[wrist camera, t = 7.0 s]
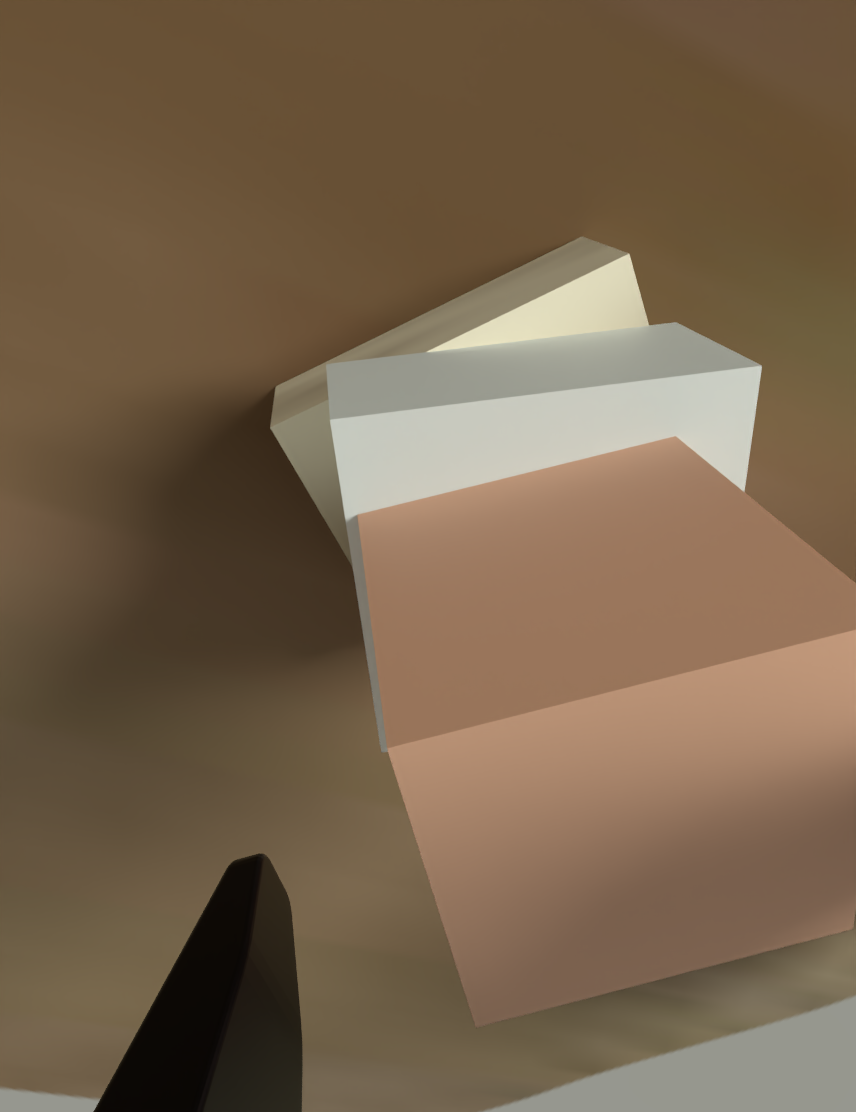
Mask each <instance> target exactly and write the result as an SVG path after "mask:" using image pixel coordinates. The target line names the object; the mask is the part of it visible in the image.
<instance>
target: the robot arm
mask: <svg viewBox="0 0 856 1112" xmlns="http://www.w3.org/2000/svg"><path fill="white" fill-rule="evenodd" d="M94 1112H302V1031H301V1017H300V1005H299V994H298V982H297V970H296V958H295V947H294V935H293V923H292V912H291V906H290V901H289V898H288V895H287V892H286V890H285V888H284V886H283V884H282V882H281V881H280V879H279V877H278V875H277V873H276V871H275V869H274V867H273V865H272V863H271V861H270V860H269V858H268V857H267V856H266V855H265V854H256V855H252V856H248V857H245V858H241V859H237V860H235V861H233V862H232V863H231V864H230V865H229V866H228V868H227V869H226V871H225V873H224V875H223V876H222V878H221V880H220V882H219V884H218V886H217V887H216V889H215V891H214V893H213V895H212V897H211V898H210V900H209V902H208V904H207V906H206V907H205V909H204V911H203V913H202V915H201V917H200V918H199V920H198V922H197V924H196V926H195V928H194V929H193V931H192V933H191V935H190V937H189V939H188V940H187V942H186V944H185V946H184V948H183V949H182V951H181V953H180V955H179V957H178V959H177V960H176V962H175V964H174V966H173V968H172V970H171V971H170V973H169V975H168V977H167V979H166V981H165V982H164V984H163V986H162V988H161V990H160V991H159V993H158V995H157V997H156V999H155V1001H154V1002H153V1004H152V1006H151V1008H150V1010H149V1012H148V1013H147V1015H146V1017H145V1019H144V1021H143V1022H142V1024H141V1026H140V1028H139V1030H138V1032H137V1033H136V1035H135V1037H134V1039H133V1041H132V1043H131V1044H130V1046H129V1048H128V1050H127V1052H126V1054H125V1055H124V1057H123V1059H122V1061H121V1063H120V1064H119V1066H118V1068H117V1070H116V1072H115V1074H114V1075H113V1077H112V1079H111V1081H110V1083H109V1085H108V1086H107V1088H106V1090H105V1092H104V1094H103V1096H102V1097H101V1099H100V1101H99V1103H98V1105H97V1107H96V1108H95V1110H94Z"/></svg>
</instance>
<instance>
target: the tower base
mask: <svg viewBox="0 0 856 1112" xmlns="http://www.w3.org/2000/svg"><path fill="white" fill-rule="evenodd" d="M642 326H649V324H648V320H647V317H646V313H645V309H644V306H643V302H642V299H641V295H640V291H639V288H638V284H637V281H636V277H635V273H634V270H633V266H632V262H631V259H630V255H629V253H626V252H623V251H620V250H618V249H615V248H612V247H609V246H607V245H604V244H601V243H598V242H596V241H593V240H590V239H587V238H585V237H580V238H578V239H576V240H574V241H572V242H570V243H568V244H566V245H564V246H562V247H559V248H557V249H555V250H553V251H551V252H549V253H547V254H545V255H543V256H541V257H539V258H537V259H535V260H533V261H531V262H529V263H527V264H525V265H523V266H521V267H519V268H517V269H515V270H513V271H511V272H508V273H506V274H504V275H502V276H500V277H498V278H496V279H494V280H492V281H490V282H488V283H486V284H484V285H482V286H480V287H478V288H476V289H474V290H472V291H470V292H468V293H466V294H464V295H462V296H459V297H457V298H455V299H453V300H451V301H449V302H447V303H445V304H443V305H441V306H439V307H437V308H435V309H433V310H431V311H429V312H427V313H425V314H423V315H421V316H419V317H417V318H415V319H413V320H411V321H408V322H406V323H404V324H402V325H400V326H398V327H396V328H394V329H392V330H390V331H388V332H386V333H384V334H382V335H380V336H378V337H376V338H374V339H372V340H370V341H368V342H366V343H364V344H362V345H359V346H357V347H355V348H353V349H351V350H349V351H347V352H345V353H343V354H341V355H339V356H337V357H335V358H333V359H331V360H329V361H327V362H325V363H323V364H321V365H319V366H317V367H315V368H313V369H311V370H308V371H306V372H304V373H302V374H300V375H298V376H296V377H294V378H292V379H290V380H288V381H286V382H284V383H282V384H280V385H278V386H276V388H275V395H274V403H273V410H272V417H271V425H270V428H271V430H272V432H273V433H274V435H275V437H276V438H277V440H278V442H279V444H280V445H281V447H282V449H283V450H284V452H285V454H286V455H287V457H288V459H289V460H290V462H291V464H292V466H293V467H294V469H295V471H296V472H297V474H298V476H299V477H300V479H301V481H302V482H303V484H304V486H305V488H306V489H307V491H308V493H309V494H310V496H311V498H312V499H313V501H314V503H315V504H316V506H317V508H318V510H319V511H320V513H321V515H322V516H323V518H324V520H325V521H326V523H327V525H328V526H329V528H330V530H331V532H332V533H333V535H334V537H335V538H336V540H337V542H338V543H339V545H340V547H341V548H342V550H343V552H344V554H345V555H346V557H347V559H348V560H349V562H350V564H351V565H352V559H351V553H350V546H349V540H348V533H347V527H346V521H345V514H344V508H343V501H342V495H341V488H340V482H339V475H338V469H337V462H336V456H335V449H334V443H333V437H332V430H331V424H330V414H329V399H328V385H327V370H326V364H331V363H340V362H348V361H356V360H365V359H373V358H381V357H390V356H398V355H407V354H415V353H423V352H433V351H441V350H449V349H458V348H466V347H474V346H483V345H491V344H499V343H508V342H516V341H525V340H533V339H541V338H550V337H558V336H566V335H575V334H583V333H591V332H600V331H608V330H616V329H625V328H633V327H642ZM352 567H353V566H352Z"/></svg>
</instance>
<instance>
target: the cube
mask: <svg viewBox="0 0 856 1112" xmlns="http://www.w3.org/2000/svg"><path fill="white" fill-rule="evenodd" d="M357 517H358V525H359V533H360V540H361V548H362V556H363V564H364V572H365V580H366V587H367V595H368V603H369V611H370V619H371V627H372V634H373V642H374V650H375V658H376V666H377V674H378V681H379V689H380V697H381V705H382V713H383V721H384V728H385V736H386V744H387V750H388V753H389V756H390V759H391V762H392V765H393V769H394V772H395V775H396V778H397V781H398V784H399V787H400V791H401V794H402V797H403V800H404V803H405V806H406V809H407V813H408V816H409V819H410V822H411V825H412V828H413V831H414V835H415V838H416V841H417V844H418V847H419V850H420V853H421V857H422V860H423V863H424V866H425V869H426V872H427V875H428V878H429V882H430V885H431V888H432V891H433V894H434V897H435V900H436V904H437V907H438V910H439V913H440V916H441V919H442V922H443V926H444V929H445V932H446V935H447V938H448V941H449V944H450V948H451V951H452V954H453V957H454V960H455V963H456V966H457V970H458V973H459V976H460V979H461V982H462V985H463V988H464V991H465V995H466V998H467V1001H468V1004H469V1007H470V1010H471V1013H472V1017H473V1020H474V1023H475V1026H476V1027H480V1026H484V1025H488V1024H492V1023H496V1022H499V1021H503V1020H507V1019H511V1018H515V1017H519V1016H522V1015H526V1014H530V1013H534V1012H538V1011H541V1010H545V1009H549V1008H553V1007H557V1006H561V1005H564V1004H568V1003H572V1002H576V1001H580V1000H584V999H587V998H591V997H595V996H599V995H603V994H607V993H610V992H614V991H618V990H622V989H626V988H630V987H633V986H637V985H641V984H645V983H649V982H652V981H656V980H660V979H664V978H668V977H672V976H675V975H679V974H683V973H687V972H691V971H695V970H698V969H702V968H706V967H710V966H714V965H718V964H721V963H725V962H729V961H733V960H737V959H741V958H744V957H748V956H752V955H756V954H760V953H763V952H767V951H771V950H775V949H779V948H783V947H786V946H790V945H794V944H798V943H802V942H806V941H809V940H813V939H817V938H821V937H825V936H829V935H832V934H836V933H840V932H844V931H848V930H852V929H853V925H854V918H855V911H856V583H855V582H853V581H852V580H851V579H850V578H848V577H847V576H846V575H845V574H844V573H842V572H841V571H840V570H839V569H837V568H836V567H835V566H834V565H833V564H831V563H830V562H829V561H828V560H826V559H825V558H824V557H823V556H822V555H820V554H819V553H818V552H817V551H815V550H814V549H813V548H812V547H811V546H809V545H808V544H807V543H806V542H804V541H803V540H802V539H801V538H800V537H798V536H797V535H796V534H795V533H793V532H792V531H791V530H790V529H789V528H787V527H786V526H785V525H784V524H782V523H781V522H780V521H779V520H778V519H776V518H775V517H774V516H773V515H771V514H770V513H769V512H768V511H767V510H765V509H764V508H763V507H762V506H760V505H759V504H758V503H757V502H756V501H754V500H753V499H752V498H751V497H749V496H748V495H747V494H746V493H745V492H743V491H742V490H741V489H740V488H738V487H737V486H736V485H735V484H734V483H732V482H731V481H730V480H729V479H727V478H726V477H725V476H724V475H723V474H721V473H720V472H719V471H718V470H716V469H715V468H714V467H713V466H712V465H710V464H709V463H708V462H707V461H705V460H704V459H703V458H702V457H701V456H699V455H698V454H697V453H696V452H694V451H693V450H692V449H691V448H690V447H688V446H687V445H686V444H685V443H683V442H682V441H681V440H680V439H679V438H677V437H676V436H674V437H670V438H666V439H662V440H658V441H654V442H650V443H646V444H642V445H638V446H634V447H630V448H625V449H621V450H617V451H613V452H609V453H605V454H601V455H597V456H593V457H589V458H585V459H581V460H577V461H573V462H569V463H565V464H561V465H557V466H553V467H549V468H544V469H540V470H536V471H532V472H528V473H524V474H520V475H516V476H512V477H508V478H504V479H500V480H496V481H492V482H488V483H484V484H480V485H476V486H472V487H467V488H463V489H459V490H455V491H451V492H447V493H443V494H439V495H435V496H431V497H427V498H423V499H419V500H415V501H411V502H407V503H403V504H399V505H395V506H391V507H386V508H382V509H378V510H374V511H370V512H366V513H362V514H358V515H357Z"/></svg>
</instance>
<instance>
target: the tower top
mask: <svg viewBox="0 0 856 1112" xmlns="http://www.w3.org/2000/svg"><path fill="white" fill-rule="evenodd" d="M761 369H762V365H760V364H758V363H756V362H754V361H752V360H750V359H748V358H746V357H744V356H742V355H740V354H738V353H736V352H734V351H732V350H730V349H728V348H726V347H724V346H722V345H720V344H718V343H716V342H714V341H712V340H710V339H708V338H706V337H704V336H702V335H700V334H698V333H696V332H694V331H692V330H690V329H688V328H686V327H684V326H682V325H680V324H678V323H676V322H675V323H666V324H658V325H650V326H642V327H633V328H625V329H616V330H608V331H600V332H591V333H583V334H575V335H566V336H558V337H550V338H541V339H533V340H525V341H516V342H508V343H499V344H491V345H483V346H474V347H466V348H458V349H449V350H441V351H433V352H423V353H415V354H407V355H398V356H390V357H381V358H373V359H365V360H356V361H348V362H340V363H331V364H326V370H327V385H328V399H329V414H330V424H331V430H332V437H333V443H334V449H335V456H336V462H337V469H338V475H339V482H340V488H341V495H342V501H343V508H344V514H345V521H346V527H347V533H348V540H349V546H350V553H351V559H352V566H353V572H354V579H355V585H356V592H357V598H358V604H359V611H360V617H361V624H362V630H363V637H364V643H365V650H366V656H367V663H368V669H369V675H370V682H371V688H372V695H373V701H374V708H375V714H376V721H377V727H378V734H379V740H380V747H381V752H388V750H387V744H386V736H385V728H384V721H383V713H382V705H381V697H380V689H379V681H378V674H377V666H376V658H375V650H374V642H373V634H372V627H371V619H370V611H369V603H368V595H367V587H366V580H365V572H364V564H363V556H362V548H361V540H360V533H359V525H358V517H357V515H358V514H362V513H366V512H370V511H374V510H378V509H382V508H386V507H391V506H395V505H399V504H403V503H407V502H411V501H415V500H419V499H423V498H427V497H431V496H435V495H439V494H443V493H447V492H451V491H455V490H459V489H463V488H467V487H472V486H476V485H480V484H484V483H488V482H492V481H496V480H500V479H504V478H508V477H512V476H516V475H520V474H524V473H528V472H532V471H536V470H540V469H544V468H549V467H553V466H557V465H561V464H565V463H569V462H573V461H577V460H581V459H585V458H589V457H593V456H597V455H601V454H605V453H609V452H613V451H617V450H621V449H625V448H630V447H634V446H638V445H642V444H646V443H650V442H654V441H658V440H662V439H666V438H670V437H674V436H676V437H677V438H679V439H680V440H681V441H682V442H683V443H685V444H686V445H687V446H688V447H690V448H691V449H692V450H693V451H694V452H696V453H697V454H698V455H699V456H701V457H702V458H703V459H704V460H705V461H707V462H708V463H709V464H710V465H712V466H713V467H714V468H715V469H716V470H718V471H719V472H720V473H721V474H723V475H724V476H725V477H726V478H727V479H729V480H730V481H731V482H732V483H734V484H735V485H736V486H737V487H738V488H740V489H741V490H742V491H743V492H744V490H745V483H746V476H747V469H748V462H749V455H750V447H751V440H752V433H753V426H754V419H755V412H756V405H757V398H758V390H759V383H760V376H761Z"/></svg>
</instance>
